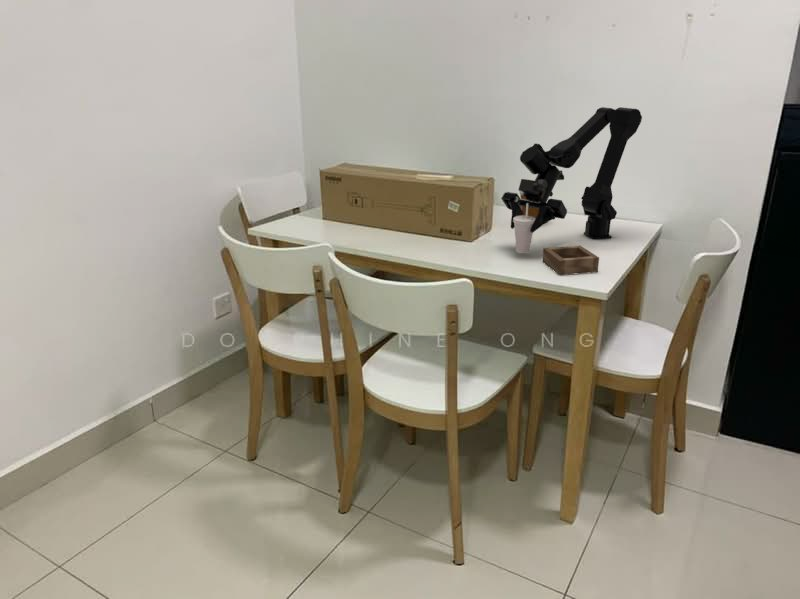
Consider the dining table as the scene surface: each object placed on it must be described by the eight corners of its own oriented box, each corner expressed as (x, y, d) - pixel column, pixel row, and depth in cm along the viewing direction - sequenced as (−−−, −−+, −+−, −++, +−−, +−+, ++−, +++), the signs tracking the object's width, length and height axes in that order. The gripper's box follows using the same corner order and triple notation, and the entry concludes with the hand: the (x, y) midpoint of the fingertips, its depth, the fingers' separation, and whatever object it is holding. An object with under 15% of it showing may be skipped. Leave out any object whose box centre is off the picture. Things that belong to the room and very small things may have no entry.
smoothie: (534, 254, 172) (537, 206, 167) (511, 254, 173) (513, 205, 168) (534, 247, 178) (537, 200, 173) (511, 247, 179) (514, 200, 174)
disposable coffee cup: (542, 218, 213) (545, 184, 208) (548, 226, 204) (551, 190, 200) (515, 219, 213) (517, 185, 209) (519, 226, 204) (521, 191, 200)
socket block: (579, 258, 173) (580, 245, 171) (597, 271, 163) (599, 257, 161) (542, 261, 171) (543, 248, 169) (558, 275, 161) (560, 260, 159)
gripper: (506, 163, 175) (482, 209, 172) (565, 171, 163) (541, 220, 160) (519, 186, 183) (497, 230, 180) (576, 194, 172) (554, 241, 169)
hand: (521, 229), depth 172 cm, fingers closed on smoothie, 6 cm apart
